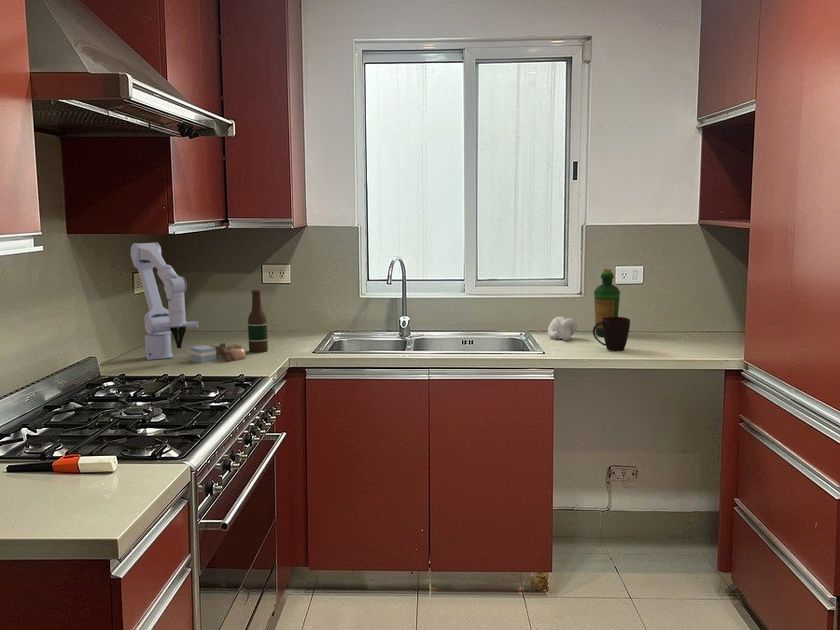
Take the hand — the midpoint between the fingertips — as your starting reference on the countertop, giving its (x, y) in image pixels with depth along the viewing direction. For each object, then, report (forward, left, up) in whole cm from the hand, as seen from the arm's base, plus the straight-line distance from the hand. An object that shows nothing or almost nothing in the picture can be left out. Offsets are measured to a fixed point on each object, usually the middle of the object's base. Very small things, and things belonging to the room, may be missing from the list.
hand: (179, 347), depth 294 cm
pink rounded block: (+20, -2, -6) cm, 21 cm away
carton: (+8, 0, -6) cm, 10 cm away
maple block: (+20, +5, -6) cm, 22 cm away
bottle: (+171, -18, -6) cm, 173 cm away
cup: (+154, -46, -6) cm, 161 cm away
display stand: (+12, +1, -5) cm, 14 cm away
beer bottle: (+30, +10, -6) cm, 33 cm away
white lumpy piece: (+150, -16, -6) cm, 151 cm away
